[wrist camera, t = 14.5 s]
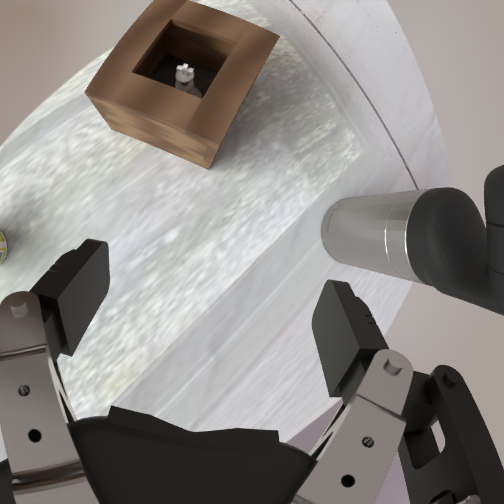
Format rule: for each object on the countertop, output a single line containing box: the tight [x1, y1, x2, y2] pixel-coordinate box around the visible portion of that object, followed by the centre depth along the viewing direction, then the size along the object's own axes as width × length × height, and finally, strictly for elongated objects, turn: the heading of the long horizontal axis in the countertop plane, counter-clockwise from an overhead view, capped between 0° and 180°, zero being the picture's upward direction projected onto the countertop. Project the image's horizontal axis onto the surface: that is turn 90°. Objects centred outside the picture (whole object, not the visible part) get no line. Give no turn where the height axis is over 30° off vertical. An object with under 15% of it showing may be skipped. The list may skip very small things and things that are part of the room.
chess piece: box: [175, 64, 203, 99], centre depth 30 cm, size 5×5×10 cm
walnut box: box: [85, 0, 280, 170], centre depth 29 cm, size 14×14×12 cm
